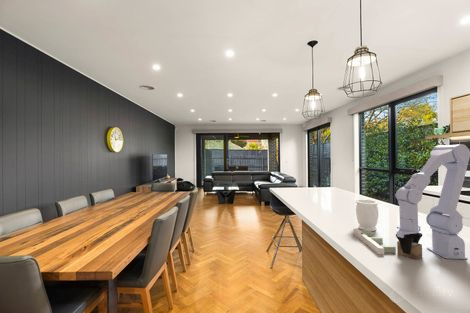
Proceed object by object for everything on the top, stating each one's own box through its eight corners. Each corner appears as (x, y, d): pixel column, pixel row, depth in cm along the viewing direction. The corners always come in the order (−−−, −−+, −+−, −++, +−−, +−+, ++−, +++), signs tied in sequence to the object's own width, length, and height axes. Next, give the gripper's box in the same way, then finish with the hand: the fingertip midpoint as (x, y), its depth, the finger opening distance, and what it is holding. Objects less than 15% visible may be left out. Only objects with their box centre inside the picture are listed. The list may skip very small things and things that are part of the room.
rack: (398, 255, 87) (398, 247, 87) (379, 254, 88) (378, 247, 88) (368, 233, 111) (368, 228, 111) (353, 233, 112) (353, 227, 112)
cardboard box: (422, 257, 85) (421, 243, 85) (416, 260, 83) (416, 246, 83) (403, 251, 91) (402, 238, 91) (397, 253, 89) (397, 240, 89)
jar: (367, 233, 112) (366, 204, 112) (352, 227, 122) (351, 200, 122) (383, 230, 115) (382, 202, 115) (367, 225, 125) (366, 199, 125)
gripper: (405, 213, 94) (406, 244, 94) (387, 218, 87) (388, 252, 87) (426, 216, 88) (427, 250, 88) (408, 222, 81) (409, 259, 81)
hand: (409, 251), depth 87 cm, fingers closed on cardboard box, 4 cm apart
